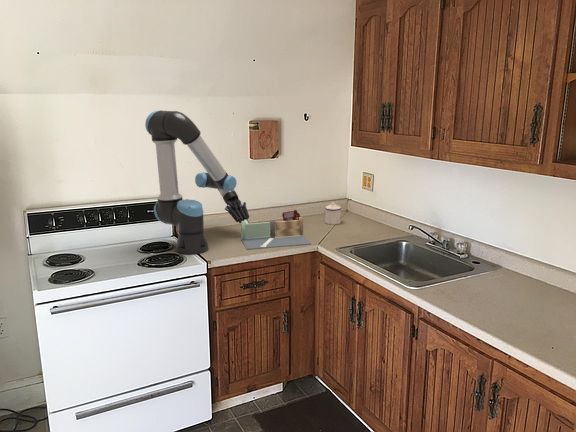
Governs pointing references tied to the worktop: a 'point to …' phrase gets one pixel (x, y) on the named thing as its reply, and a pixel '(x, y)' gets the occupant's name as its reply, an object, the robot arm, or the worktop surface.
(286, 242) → the card
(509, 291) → the worktop surface
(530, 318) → the worktop surface
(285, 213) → the toy fire truck
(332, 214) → the teacup with lid
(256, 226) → the hinged fence panel
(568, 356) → the worktop surface
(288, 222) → the fixed fence panel
